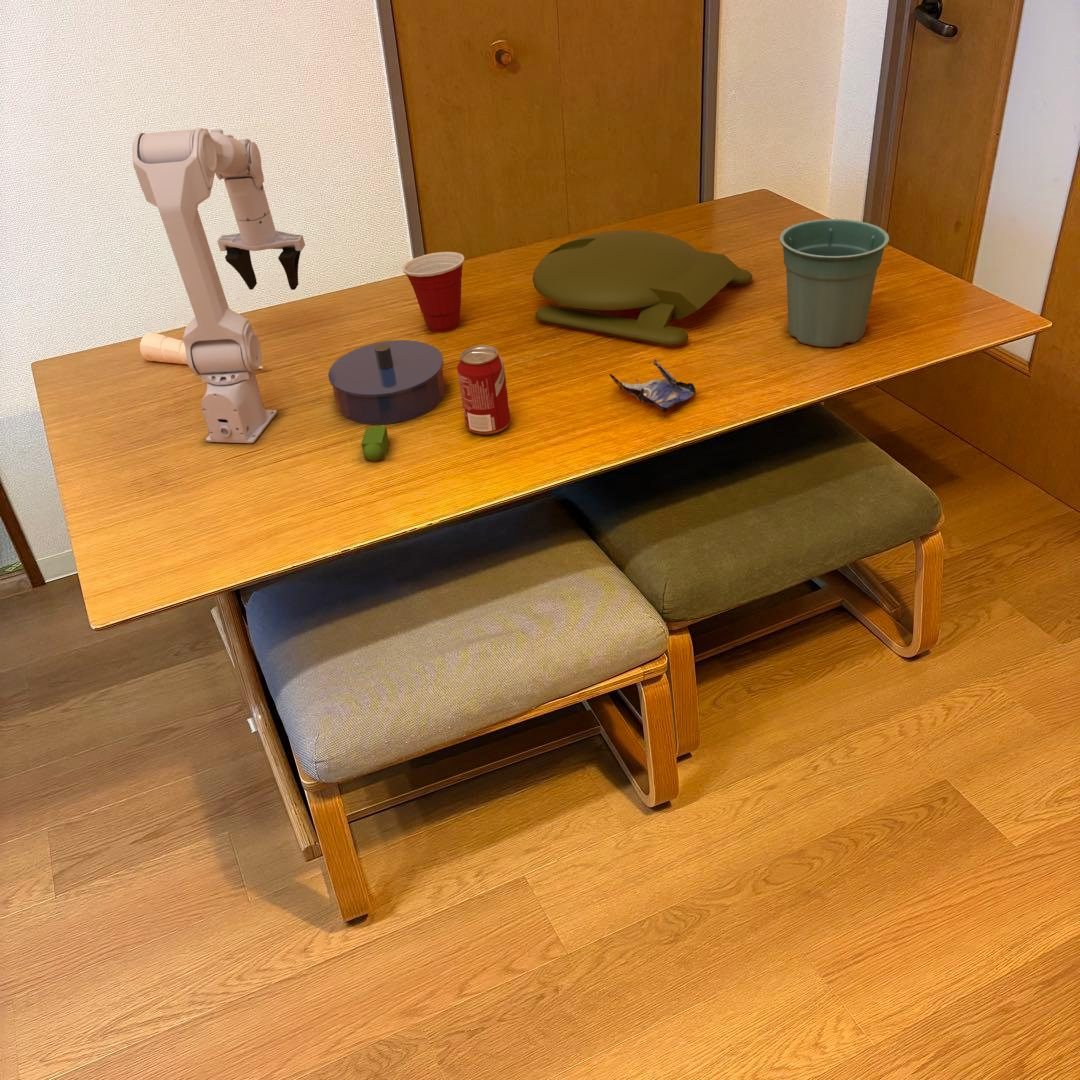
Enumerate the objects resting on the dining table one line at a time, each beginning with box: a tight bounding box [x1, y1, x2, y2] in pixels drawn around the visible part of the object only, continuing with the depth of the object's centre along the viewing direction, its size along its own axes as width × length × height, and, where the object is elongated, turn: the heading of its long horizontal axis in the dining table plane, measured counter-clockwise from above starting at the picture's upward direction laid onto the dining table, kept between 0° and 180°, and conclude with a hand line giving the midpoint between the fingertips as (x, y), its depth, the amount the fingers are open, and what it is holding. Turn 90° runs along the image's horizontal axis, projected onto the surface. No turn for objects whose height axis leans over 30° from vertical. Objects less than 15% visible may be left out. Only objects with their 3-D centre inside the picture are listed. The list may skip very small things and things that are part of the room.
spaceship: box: [532, 229, 753, 348], centre depth 192 cm, size 35×31×10 cm
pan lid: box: [327, 339, 445, 397], centre depth 169 cm, size 18×18×4 cm
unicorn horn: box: [139, 331, 264, 370], centre depth 187 cm, size 5×24×5 cm, turn 65°
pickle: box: [360, 425, 390, 462], centre depth 159 cm, size 7×3×3 cm, turn 179°
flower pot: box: [779, 218, 890, 348], centre depth 173 cm, size 16×16×16 cm
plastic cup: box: [402, 251, 465, 333], centre depth 190 cm, size 11×11×12 cm
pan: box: [332, 368, 446, 426], centre depth 172 cm, size 17×17×5 cm
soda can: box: [456, 344, 512, 436], centre depth 159 cm, size 7×7×12 cm
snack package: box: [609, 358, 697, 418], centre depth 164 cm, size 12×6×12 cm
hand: (273, 286), depth 187 cm, fingers open, 7 cm apart
